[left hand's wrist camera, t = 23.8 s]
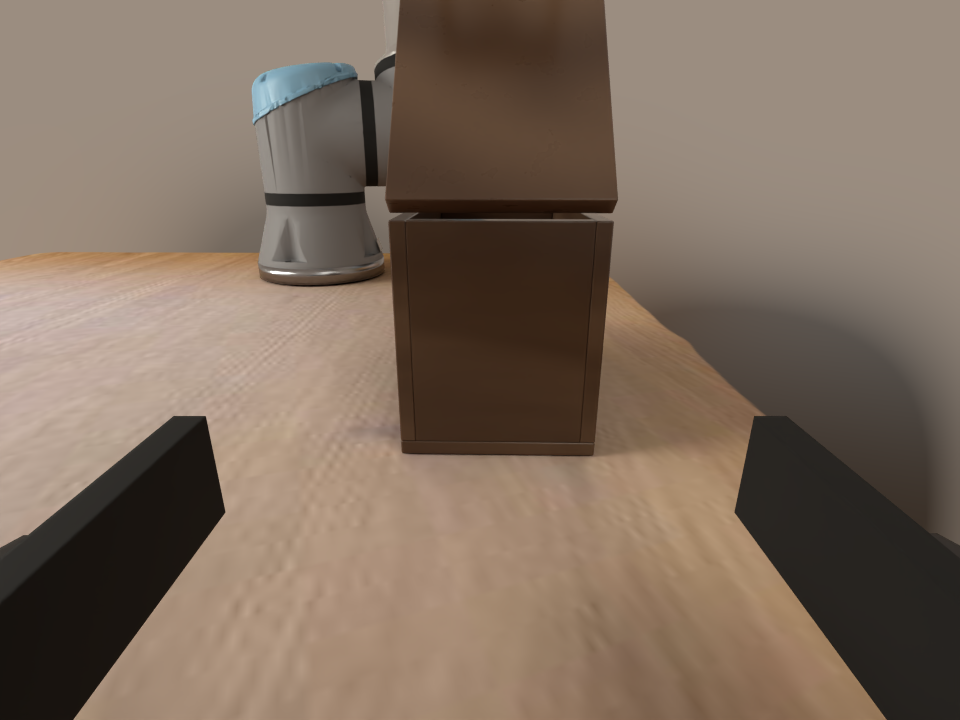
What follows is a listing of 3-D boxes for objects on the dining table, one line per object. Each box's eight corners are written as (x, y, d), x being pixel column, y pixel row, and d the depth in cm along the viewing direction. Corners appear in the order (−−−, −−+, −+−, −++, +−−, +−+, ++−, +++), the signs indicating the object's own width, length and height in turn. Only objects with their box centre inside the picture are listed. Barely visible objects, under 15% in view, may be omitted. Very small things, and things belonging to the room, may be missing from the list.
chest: (436, 344, 41) (431, 197, 37) (554, 345, 40) (562, 197, 37) (401, 453, 25) (387, 220, 21) (593, 456, 25) (614, 221, 21)
